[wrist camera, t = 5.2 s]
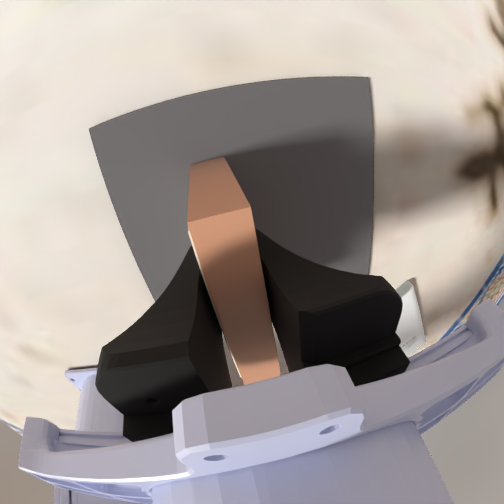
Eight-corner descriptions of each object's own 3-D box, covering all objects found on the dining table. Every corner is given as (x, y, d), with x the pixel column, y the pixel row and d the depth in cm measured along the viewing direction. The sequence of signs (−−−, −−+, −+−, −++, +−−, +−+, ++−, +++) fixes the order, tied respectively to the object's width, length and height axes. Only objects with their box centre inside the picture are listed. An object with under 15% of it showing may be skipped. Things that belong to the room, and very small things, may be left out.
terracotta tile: (252, 288, 16) (281, 378, 11) (224, 295, 16) (243, 388, 11) (224, 156, 12) (250, 206, 7) (188, 165, 12) (183, 223, 7)
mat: (364, 283, 19) (366, 286, 19) (175, 334, 18) (175, 338, 17) (363, 77, 11) (368, 77, 11) (91, 127, 10) (88, 128, 10)
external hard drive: (404, 275, 21) (420, 333, 27) (328, 332, 22) (366, 373, 28) (414, 286, 19) (427, 342, 26) (335, 346, 21) (371, 384, 27)
